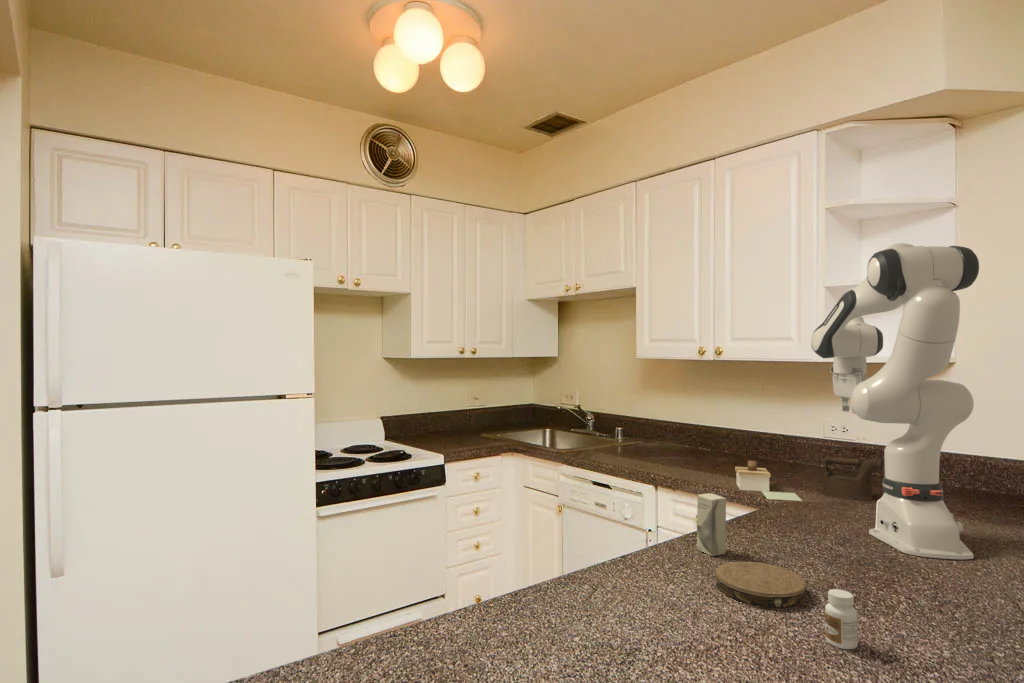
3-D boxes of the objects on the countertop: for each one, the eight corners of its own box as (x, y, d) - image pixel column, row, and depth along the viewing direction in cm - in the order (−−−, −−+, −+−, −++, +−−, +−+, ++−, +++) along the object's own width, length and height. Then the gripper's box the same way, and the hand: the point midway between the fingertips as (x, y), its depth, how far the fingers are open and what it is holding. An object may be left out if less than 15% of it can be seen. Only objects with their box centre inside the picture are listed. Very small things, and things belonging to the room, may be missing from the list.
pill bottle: (819, 636, 91) (818, 587, 91) (845, 635, 91) (845, 587, 91) (836, 650, 87) (836, 599, 87) (864, 649, 87) (863, 599, 87)
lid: (770, 477, 185) (770, 464, 185) (739, 475, 187) (738, 463, 188) (765, 471, 194) (764, 459, 194) (735, 470, 197) (735, 458, 197)
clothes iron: (880, 504, 171) (880, 459, 171) (821, 496, 181) (821, 454, 181) (884, 499, 177) (883, 456, 177) (826, 491, 187) (826, 450, 187)
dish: (769, 492, 185) (769, 477, 185) (740, 490, 188) (739, 475, 188) (764, 486, 194) (764, 471, 194) (736, 484, 196) (736, 470, 196)
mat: (802, 502, 173) (802, 500, 173) (767, 500, 176) (767, 498, 176) (794, 494, 183) (794, 493, 183) (761, 492, 185) (761, 491, 185)
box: (696, 549, 131) (695, 494, 132) (710, 547, 133) (710, 492, 133) (712, 557, 126) (711, 499, 127) (727, 554, 128) (726, 497, 128)
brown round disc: (702, 577, 116) (702, 562, 116) (776, 575, 117) (776, 560, 117) (739, 612, 100) (739, 595, 100) (825, 609, 101) (825, 592, 101)
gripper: (874, 368, 166) (875, 415, 165) (849, 367, 186) (850, 410, 185) (850, 368, 167) (851, 415, 167) (828, 367, 187) (829, 409, 186)
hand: (850, 412), depth 176 cm, fingers open, 8 cm apart
